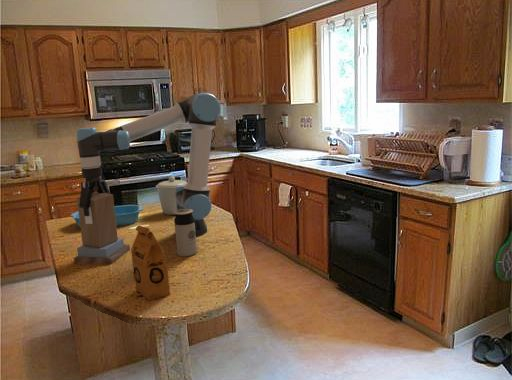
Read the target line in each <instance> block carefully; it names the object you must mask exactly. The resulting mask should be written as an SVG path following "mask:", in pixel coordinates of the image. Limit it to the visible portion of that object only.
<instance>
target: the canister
mask: <svg viewBox="0 0 512 380" xmlns="http://www.w3.org/2000/svg"><path fill="white" fill-rule="evenodd" d="M187 182H188V181H186V180H183V179H182V180H181V179H176V177H175V176H174V175H173V176H172V175H171V176H169V177H168V180H164V181H160V182H159V183H158V184H156V185H155V187H156V188H157V192H158V194H157V195H158V197H159V202H160V207H161V211H162V212H163V213H164V215H166V216H175V213H174V212H175V211H176V210H177V205H176V195H175V188H176V187H177V186H182V185H186V184H187Z"/></svg>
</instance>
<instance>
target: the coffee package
mask: <svg viewBox="0 0 512 380" xmlns="http://www.w3.org/2000/svg"><path fill="white" fill-rule="evenodd" d="M135 230H136V231H137V234H136V237H135V239H134V241H133V242H132V246H131V248H130V251H131V260H132V269H133V272H132V278H133V280H134V284H135V290H137V291H138V292H139V293H140V294H141V295H142V296H144V298H147V300H149V301H153V300H155V299H160V298H164V297H167V296H169V295H171V291H170V282H169V270H168V265H167V261H166V257H165V254H164V251H163V249H162V246H161V245H160V243H159V242H158V240H157V238H156V236H155V235H154V233H153V232H152V231H151V229H150V228H149V227H146V226H143V225H140V224H139V225H137V226H136V228H135Z"/></svg>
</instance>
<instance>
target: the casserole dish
mask: <svg viewBox="0 0 512 380" xmlns="http://www.w3.org/2000/svg"><path fill="white" fill-rule="evenodd" d="M114 209H115V218H116V227H119V226H120V227H121V226H126V225H133V224H135V223H136V222H137V220H138V219H139V216H140V215H139V213H140V212H141V211H143V210H144V209H145V208H144V207H143V206H142V205H141V206H140V205H138V204H125V205H114ZM70 218H73V220H74V221H75V223H76V224H77V227H79V228H80V220H79V212H78V211H76V212H73V213H71V214H70ZM132 223H133V224H132Z"/></svg>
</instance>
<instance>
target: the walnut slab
mask: <svg viewBox="0 0 512 380" xmlns="http://www.w3.org/2000/svg"><path fill="white" fill-rule="evenodd" d="M130 251H131V248H130V244H124V247H122V248H121V249H119V250H118V251H116V252H115V253H113V254H112V255H110V256H109V257H107V258H103V257H78V255H76V256H75V257H74V258H73V261H74V264H75V265H76V264H78V265H79V264H80V265H81V264H82V265H86V264H87V265H92V264H95V265H96V264H97V265H113V264H114V263H116V261H118V260H119V259H120V258H122V257H123V256H125V254H126V253H128V252H130Z"/></svg>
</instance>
